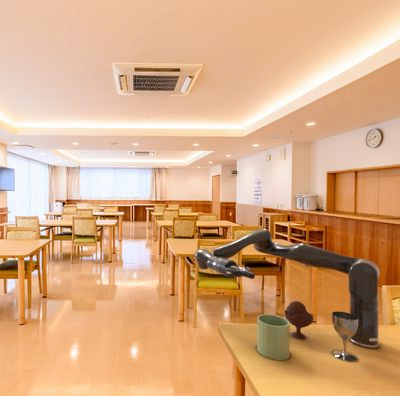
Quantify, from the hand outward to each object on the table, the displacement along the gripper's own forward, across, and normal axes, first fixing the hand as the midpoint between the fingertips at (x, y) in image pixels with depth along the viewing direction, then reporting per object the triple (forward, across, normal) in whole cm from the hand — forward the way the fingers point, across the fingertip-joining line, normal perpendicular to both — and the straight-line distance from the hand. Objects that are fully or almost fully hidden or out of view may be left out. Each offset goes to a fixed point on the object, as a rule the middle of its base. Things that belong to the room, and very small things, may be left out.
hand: (253, 276), depth 119 cm
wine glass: (+23, -22, -26) cm, 41 cm away
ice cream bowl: (+5, -20, -26) cm, 34 cm away
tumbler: (+10, 0, -26) cm, 28 cm away
